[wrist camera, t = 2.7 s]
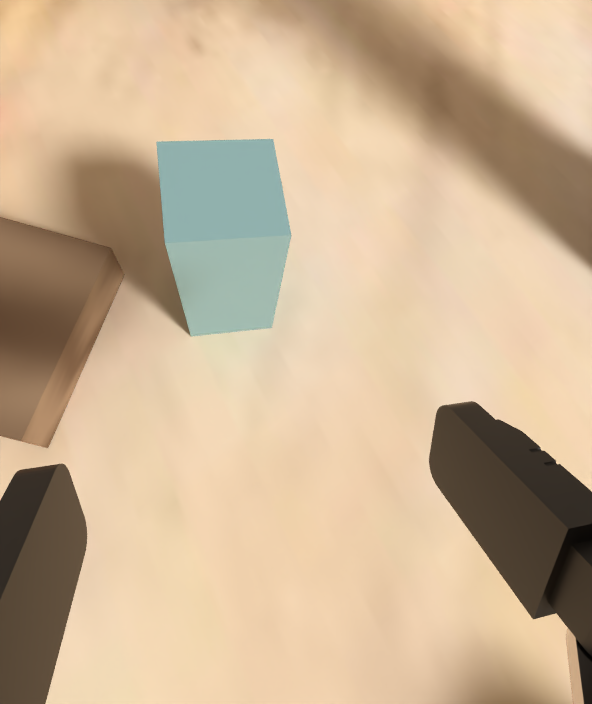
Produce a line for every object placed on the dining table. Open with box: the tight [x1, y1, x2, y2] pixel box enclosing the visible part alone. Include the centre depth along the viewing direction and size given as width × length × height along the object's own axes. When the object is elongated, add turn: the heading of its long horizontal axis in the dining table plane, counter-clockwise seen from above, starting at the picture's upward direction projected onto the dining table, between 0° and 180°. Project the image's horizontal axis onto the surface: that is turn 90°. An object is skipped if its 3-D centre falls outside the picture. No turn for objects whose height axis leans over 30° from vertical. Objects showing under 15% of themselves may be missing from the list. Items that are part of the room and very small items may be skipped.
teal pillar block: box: [157, 139, 291, 336], centre depth 22 cm, size 5×5×10 cm
